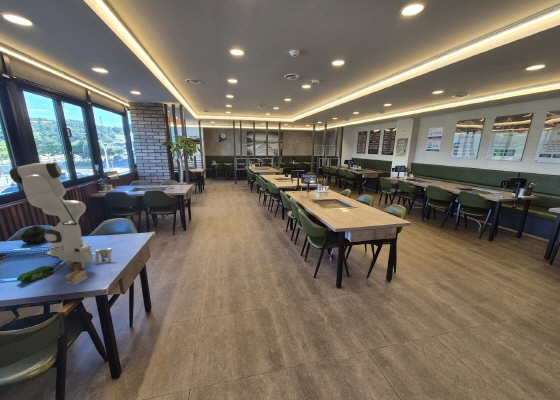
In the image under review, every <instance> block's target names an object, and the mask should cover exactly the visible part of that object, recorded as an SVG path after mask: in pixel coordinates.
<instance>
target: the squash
mask: <svg viewBox="0 0 560 400" xmlns="http://www.w3.org/2000/svg"><path fill="white" fill-rule="evenodd" d="M46 230H47V229H46V228H45V227H43V226H40V225H33V226H30V227H28V228H26V229H25V230H24V231H23V232H22V233H21V236H20V239H21V241H22V242H23V243H25V244H34V243H36V244H40V243H43V242H45V241H46V240H45V238H44V232H45V231H46Z"/></svg>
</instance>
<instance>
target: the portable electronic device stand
mask: <svg viewBox="0 0 560 400" xmlns="http://www.w3.org/2000/svg"><path fill="white" fill-rule="evenodd" d="M112 251H113V248H104V249H103V248H102V249H101V248H100V249H96V250H95V254H94V255H95V259H94V260H95V261H94V263H93V264H94V265H99V264H110V263H112ZM100 258H101V260H102V261H100ZM105 259H107V260H105ZM103 260H104V261H103Z"/></svg>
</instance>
